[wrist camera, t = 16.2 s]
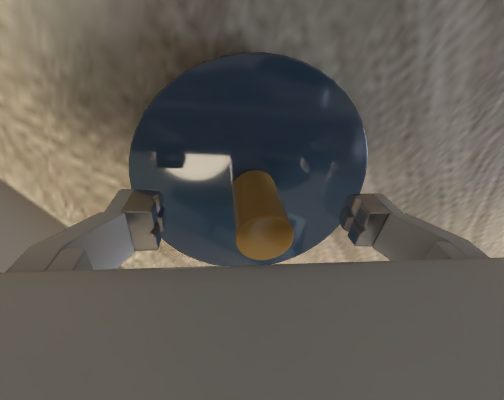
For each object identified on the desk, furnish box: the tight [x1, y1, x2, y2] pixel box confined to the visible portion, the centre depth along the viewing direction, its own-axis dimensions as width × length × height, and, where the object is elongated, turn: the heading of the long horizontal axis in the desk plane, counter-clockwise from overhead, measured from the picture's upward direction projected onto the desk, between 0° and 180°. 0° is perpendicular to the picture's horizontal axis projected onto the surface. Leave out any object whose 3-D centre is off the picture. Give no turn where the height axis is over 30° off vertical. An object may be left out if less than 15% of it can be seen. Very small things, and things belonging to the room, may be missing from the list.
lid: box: [129, 52, 367, 266], centre depth 11 cm, size 13×13×5 cm
